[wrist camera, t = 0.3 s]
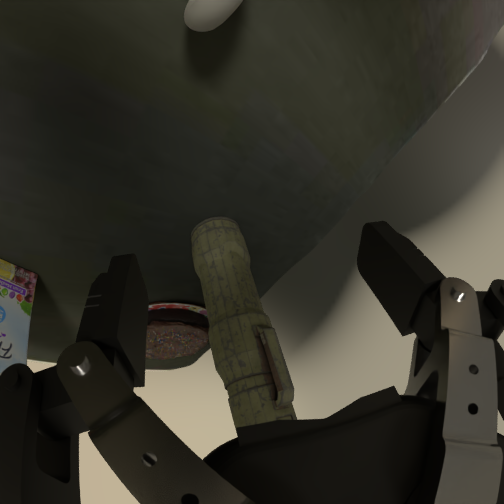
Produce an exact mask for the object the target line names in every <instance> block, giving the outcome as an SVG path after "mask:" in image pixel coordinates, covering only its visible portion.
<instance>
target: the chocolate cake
mask: <svg viewBox="0 0 504 504" xmlns="http://www.w3.org/2000/svg"><path fill="white" fill-rule="evenodd" d="M209 327H210V325H209V320H208V316H207V311H206V306H198V305H194V304H185V303H176V302H161V301H156V302H152V303H149V309H148V322H147V337H146V356H145V357H146V358H151V359H152V358H153V359H154V358H155V359H169V358H177V357H180V356H185V355H193V354H194V353H195V352H197V351H198V350H200V349H202V348H203V347H204V346H205V345H206V344H207V343H208V340H209V336H208V331H209Z"/></svg>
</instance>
